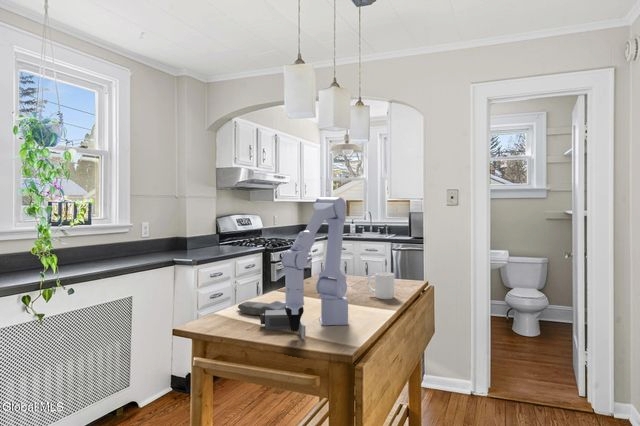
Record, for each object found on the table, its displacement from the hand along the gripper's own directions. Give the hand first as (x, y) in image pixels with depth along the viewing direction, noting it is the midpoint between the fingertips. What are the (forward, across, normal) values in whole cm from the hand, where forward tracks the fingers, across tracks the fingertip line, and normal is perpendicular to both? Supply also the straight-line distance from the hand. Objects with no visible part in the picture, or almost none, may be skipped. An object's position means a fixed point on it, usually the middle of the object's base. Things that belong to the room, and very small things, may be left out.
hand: (294, 330), depth 137 cm
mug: (+2, -50, +38) cm, 63 cm away
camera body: (+2, -11, -4) cm, 12 cm away
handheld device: (+3, -28, -13) cm, 31 cm away
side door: (+2, -3, +2) cm, 4 cm away
